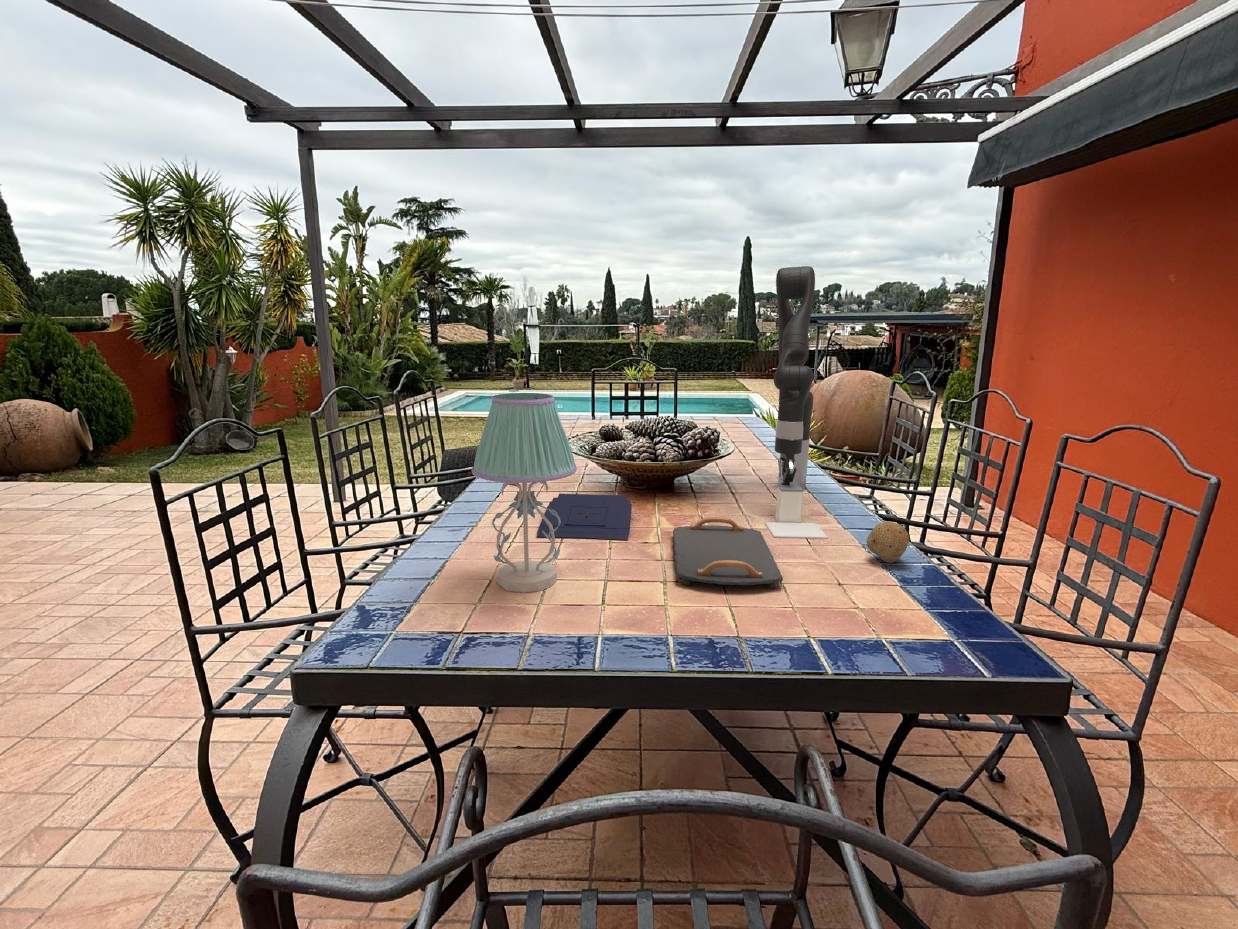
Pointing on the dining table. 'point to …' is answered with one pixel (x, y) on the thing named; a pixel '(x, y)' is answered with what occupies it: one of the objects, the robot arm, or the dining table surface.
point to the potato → (888, 541)
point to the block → (789, 503)
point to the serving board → (723, 555)
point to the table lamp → (524, 474)
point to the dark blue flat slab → (589, 516)
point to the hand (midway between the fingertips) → (784, 494)
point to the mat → (795, 530)
